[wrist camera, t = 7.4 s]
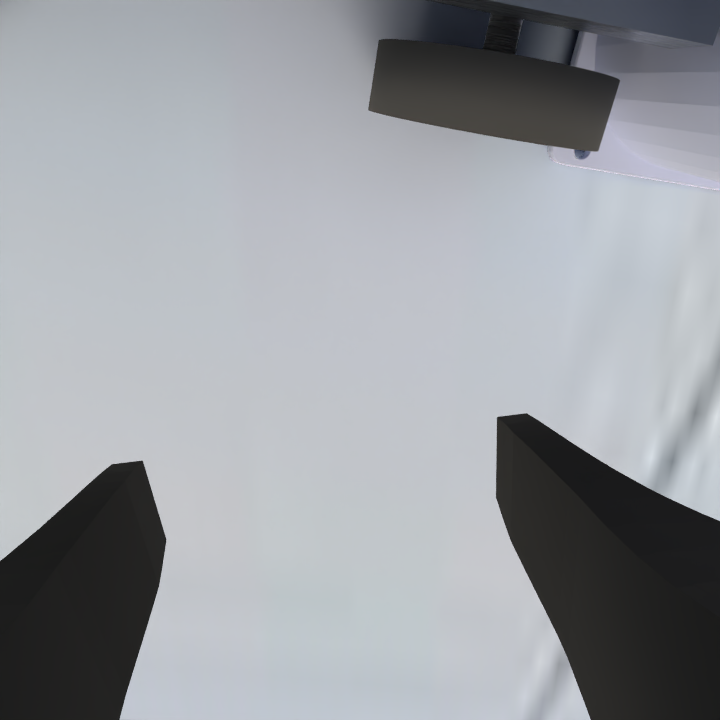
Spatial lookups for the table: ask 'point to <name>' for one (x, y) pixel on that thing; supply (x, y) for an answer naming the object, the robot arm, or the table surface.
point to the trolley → (528, 69)
